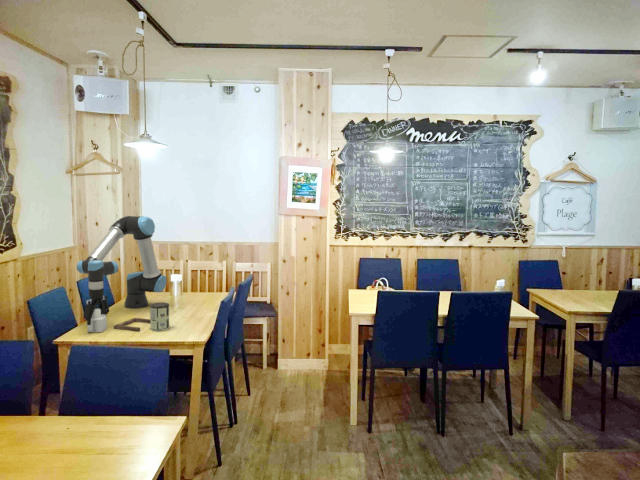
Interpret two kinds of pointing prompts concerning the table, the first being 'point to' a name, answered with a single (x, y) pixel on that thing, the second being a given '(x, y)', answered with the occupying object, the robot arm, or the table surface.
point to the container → (98, 320)
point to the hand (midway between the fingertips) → (97, 327)
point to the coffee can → (159, 316)
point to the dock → (123, 325)
